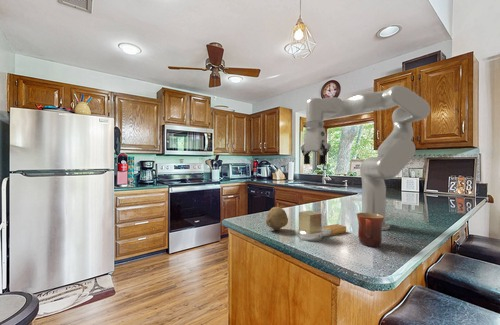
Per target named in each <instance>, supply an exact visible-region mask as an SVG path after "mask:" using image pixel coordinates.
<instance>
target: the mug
mask: <svg viewBox="0 0 500 325" xmlns="http://www.w3.org/2000/svg"><path fill="white" fill-rule="evenodd" d="M356 217H357V223H358V222H359V225H358V234H357V237H358V242H359V243H360V244H362V245H364V246H366V247H372V248H376V247H380V246H381V245H382V241H383V230H382V222H383V220H384V216H382V215H379V214H374V213H362V212H357V213H356Z"/></svg>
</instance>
